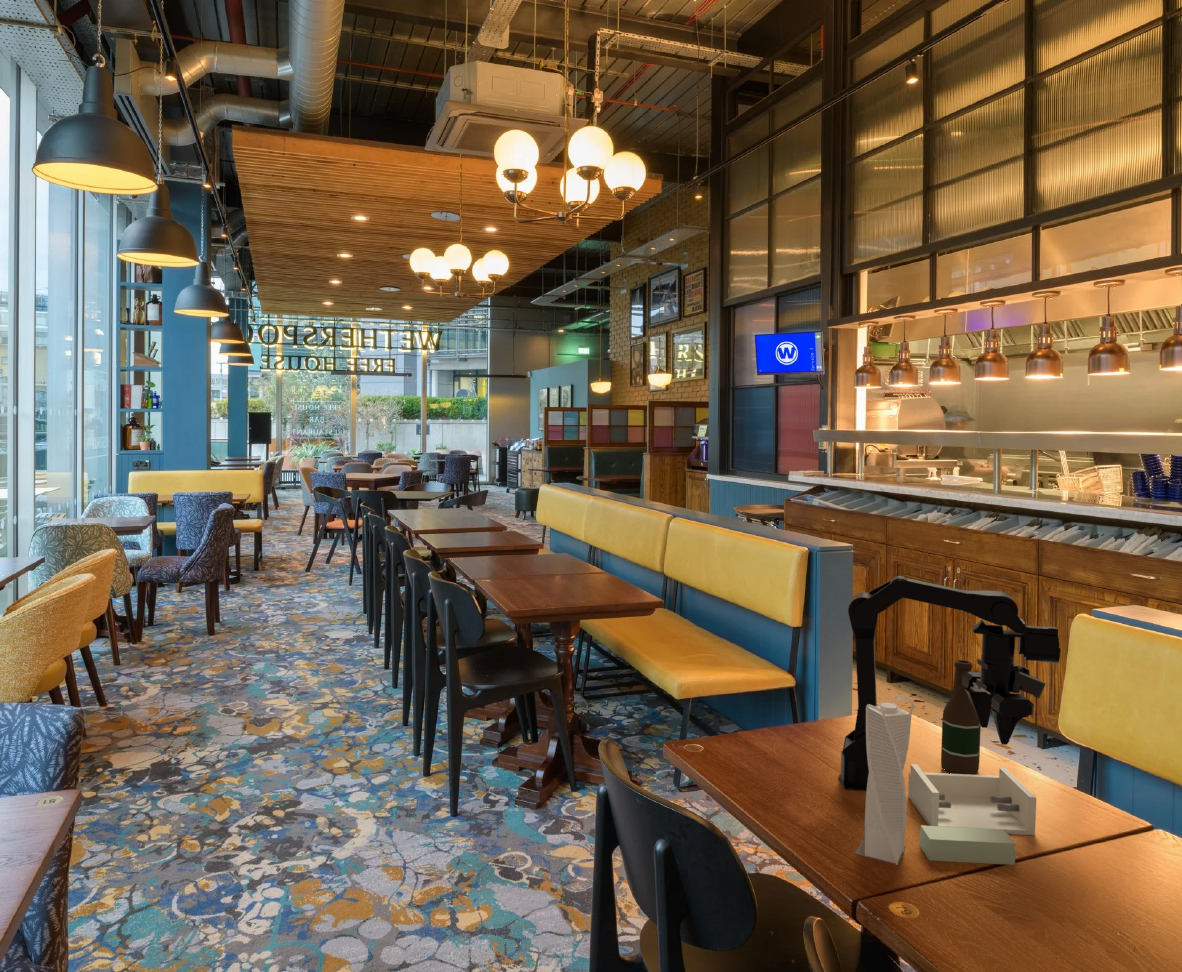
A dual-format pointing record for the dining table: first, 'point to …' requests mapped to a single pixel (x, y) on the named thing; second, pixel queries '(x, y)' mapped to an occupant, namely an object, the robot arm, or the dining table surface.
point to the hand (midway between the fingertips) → (994, 735)
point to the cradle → (973, 801)
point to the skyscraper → (886, 782)
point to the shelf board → (967, 845)
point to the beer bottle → (960, 728)
